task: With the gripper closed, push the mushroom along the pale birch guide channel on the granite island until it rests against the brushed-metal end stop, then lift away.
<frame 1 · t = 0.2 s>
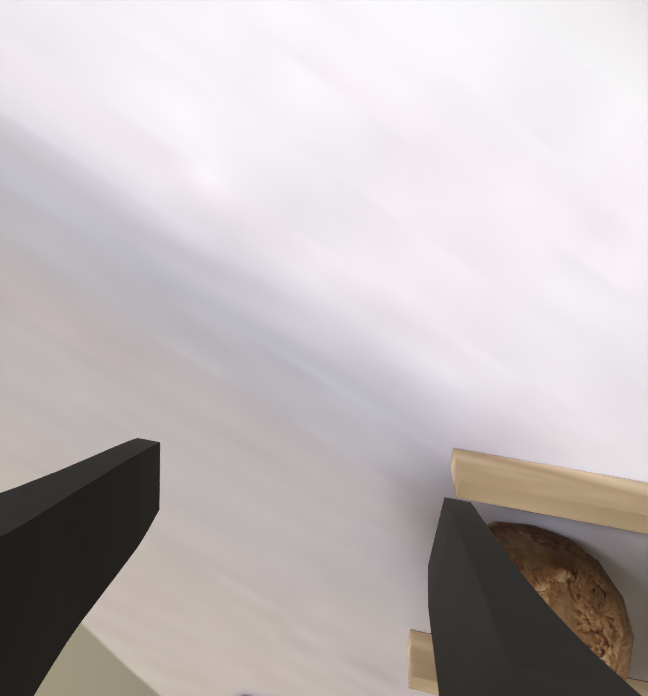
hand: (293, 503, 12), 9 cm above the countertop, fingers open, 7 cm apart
guide fence: (602, 588, 22), on the countertop
mushroom: (512, 565, 23), on the countertop
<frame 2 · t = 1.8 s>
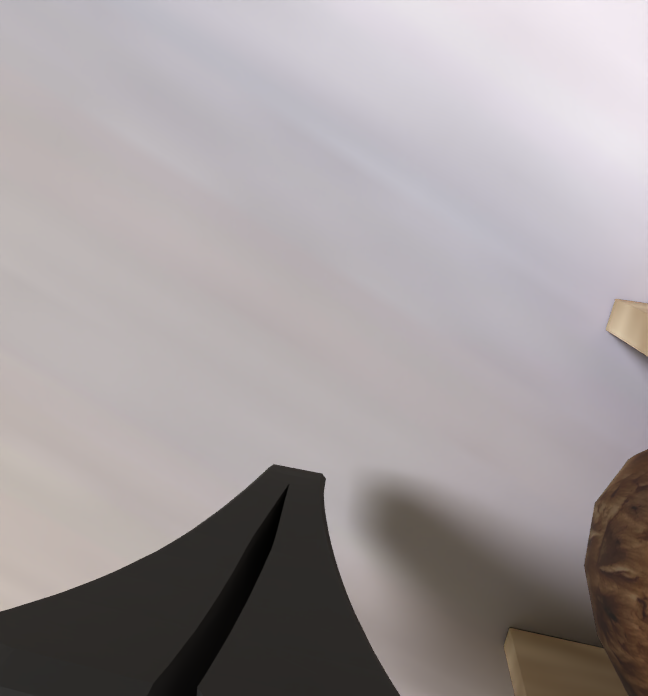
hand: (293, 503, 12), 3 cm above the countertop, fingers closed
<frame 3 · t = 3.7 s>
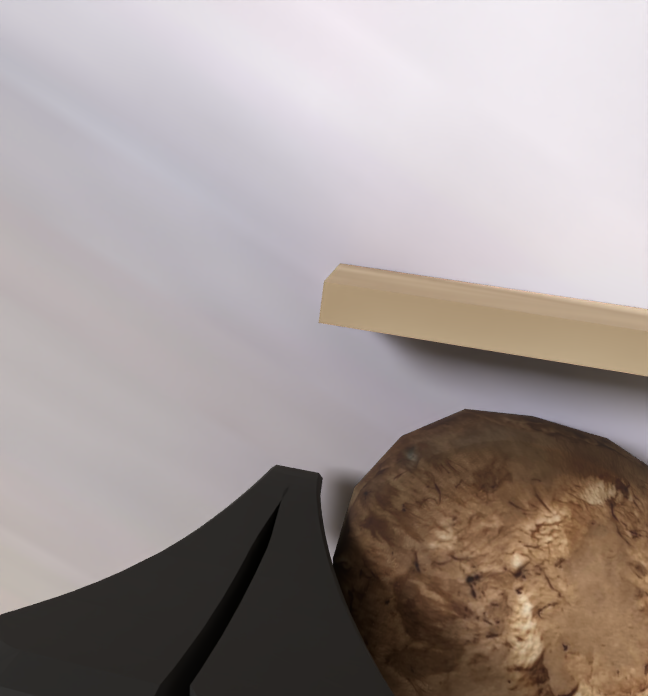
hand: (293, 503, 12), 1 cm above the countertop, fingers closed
guide fence: (616, 533, 12), on the countertop
mushroom: (498, 504, 13), on the countertop, touching gripper
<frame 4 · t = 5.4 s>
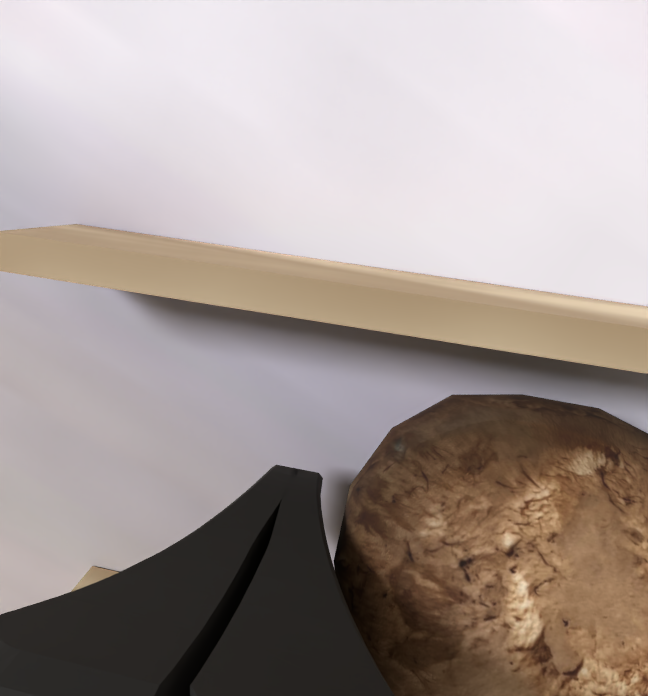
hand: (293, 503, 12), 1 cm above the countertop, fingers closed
guide fence: (359, 482, 13), on the countertop
mushroom: (503, 488, 13), on the countertop, touching gripper
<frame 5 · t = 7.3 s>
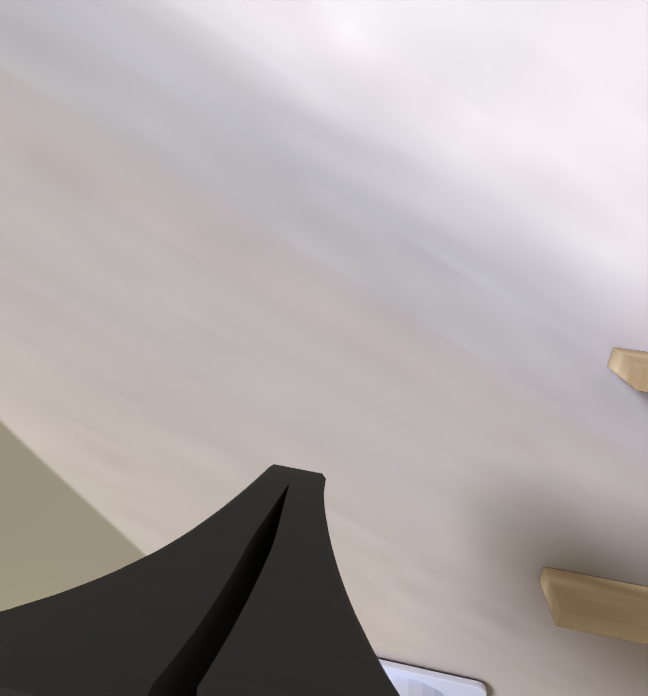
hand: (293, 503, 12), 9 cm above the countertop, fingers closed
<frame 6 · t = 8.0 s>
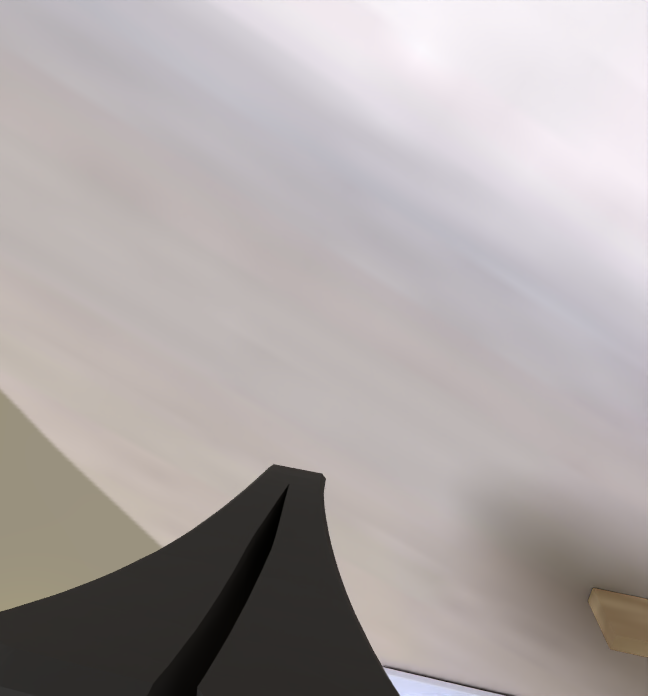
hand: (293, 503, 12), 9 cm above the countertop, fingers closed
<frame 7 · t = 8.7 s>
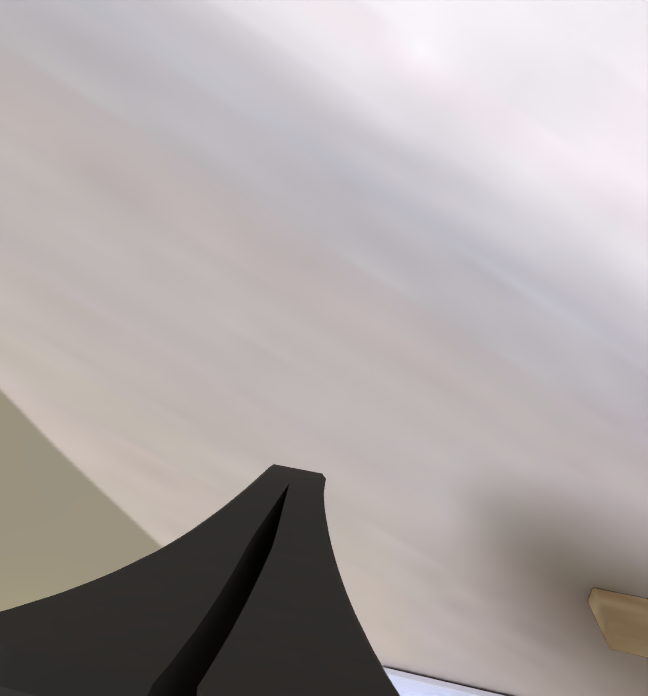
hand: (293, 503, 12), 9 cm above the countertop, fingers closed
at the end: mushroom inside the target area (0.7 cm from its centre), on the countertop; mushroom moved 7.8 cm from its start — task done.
